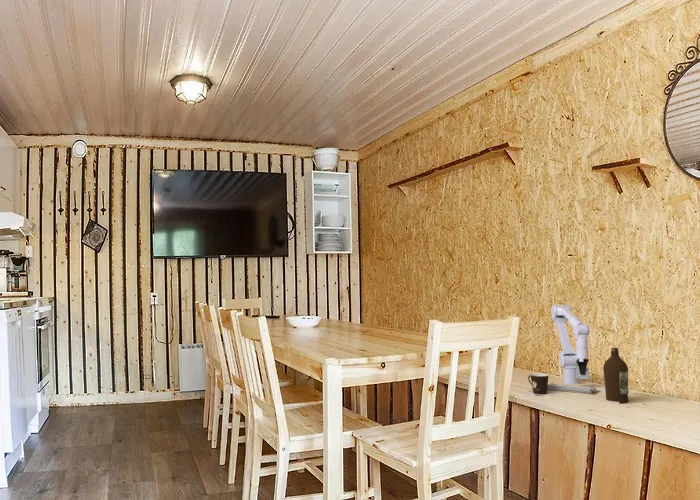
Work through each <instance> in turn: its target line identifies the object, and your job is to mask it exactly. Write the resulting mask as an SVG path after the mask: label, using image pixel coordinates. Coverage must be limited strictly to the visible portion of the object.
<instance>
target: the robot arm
mask: <svg viewBox="0 0 700 500" xmlns="http://www.w3.org/2000/svg"><path fill="white" fill-rule="evenodd" d="M550 314H551V319H552V321H554V322H555V324H556V325H555V326H556V329H557V333H558V338H559V341H560V346H561V349H562V350H561V351H560V352H559V353H558V364H559V365H560V367H561V368H562V379H563V381H562V382H563V384H565V385H577V384H581V381H579V378H576V368H579V371H580V374H581V375H585V372H586V368H588V367H587V366H588V363H589V361H590V359H589V358H590V356H589V343H588V342H589V341H588V340H589V339H588V336H589V334H590V327H589V325H588V324H587V323H583V322H582V321H581V319H580V318H579V317H578V316H575V315H574V314H573V312H572V307H571V305H570V304H552V306H551V307H550ZM566 322H568V324H569V326H570V327H571V328H572V329H573V334H574V338H575V350H574V349H573V348H572V344H571V339H570V336H569V333H568V328H567V325H566Z"/></svg>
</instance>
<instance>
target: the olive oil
mask: <svg viewBox="0 0 700 500" xmlns="http://www.w3.org/2000/svg"><path fill="white" fill-rule="evenodd" d="M602 369H603V377H604V378H603V379H604V388H605V389H604V390H605V399H606V401H609V402H615V403H618V404H627V403H629V393H630V392H629V367H628V365H627V363H626V362H625V361H624V359H622V358H621V357H620V351H619V347H611V348H610V356H609V358H608V359H606V361H605V362H604V364H603V367H602Z"/></svg>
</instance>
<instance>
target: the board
mask: <svg viewBox="0 0 700 500" xmlns="http://www.w3.org/2000/svg"><path fill="white" fill-rule="evenodd" d="M549 391H551V392H552V391H553V392H556V391H555V390H549ZM559 392H560V393H561V392H562V393H566V392H565V391H559ZM600 392H601V390H596V391H595V392H594V393H593V394H589V395H591V396H596V395H597V394H599V393H600ZM569 393H570V394H576V393H575V392H569ZM579 394H583V395H586V394H585V393H579Z"/></svg>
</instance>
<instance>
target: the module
mask: <svg viewBox="0 0 700 500" xmlns="http://www.w3.org/2000/svg"><path fill="white" fill-rule="evenodd" d="M576 378H579V379H580V380H581V379H582V380H584V379H585V380H589V379H590V369H589V367H587V368H586V372H585V375H581V374H580V371H579V367H578V368H576Z"/></svg>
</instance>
